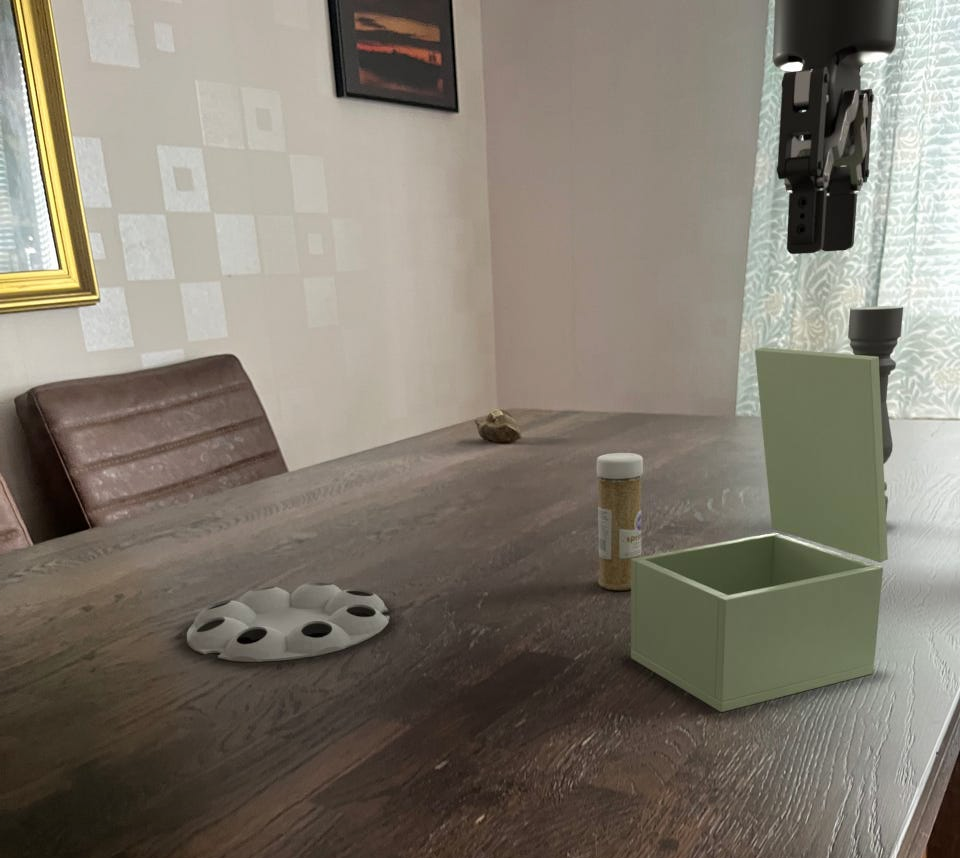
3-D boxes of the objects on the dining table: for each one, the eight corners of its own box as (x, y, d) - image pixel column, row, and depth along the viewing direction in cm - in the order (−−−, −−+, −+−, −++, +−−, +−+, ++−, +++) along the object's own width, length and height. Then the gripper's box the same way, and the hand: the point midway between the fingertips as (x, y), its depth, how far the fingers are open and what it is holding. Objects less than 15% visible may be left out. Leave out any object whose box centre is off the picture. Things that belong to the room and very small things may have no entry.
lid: (870, 359, 69) (879, 356, 70) (754, 349, 80) (762, 347, 81) (880, 563, 76) (888, 559, 76) (771, 528, 87) (779, 525, 87)
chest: (721, 712, 74) (725, 599, 71) (630, 658, 85) (630, 558, 82) (873, 673, 79) (883, 566, 76) (770, 627, 90) (775, 532, 87)
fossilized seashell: (464, 427, 193) (487, 443, 185) (481, 397, 192) (505, 411, 184) (493, 443, 197) (517, 459, 190) (510, 413, 196) (534, 427, 188)
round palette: (424, 630, 94) (422, 610, 93) (219, 679, 85) (215, 657, 84) (344, 581, 110) (342, 564, 109) (164, 618, 101) (161, 599, 101)
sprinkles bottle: (641, 591, 101) (642, 459, 97) (596, 592, 102) (595, 460, 97) (642, 578, 106) (642, 451, 101) (598, 578, 106) (597, 452, 102)
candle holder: (880, 532, 117) (900, 308, 108) (825, 528, 120) (841, 310, 112) (890, 520, 122) (910, 305, 113) (838, 516, 125) (854, 306, 116)
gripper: (875, -61, 56) (854, 251, 61) (921, -14, 67) (899, 246, 72) (743, -34, 59) (734, 258, 65) (807, 6, 71) (795, 252, 76)
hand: (821, 252), depth 69 cm, fingers open, 8 cm apart
